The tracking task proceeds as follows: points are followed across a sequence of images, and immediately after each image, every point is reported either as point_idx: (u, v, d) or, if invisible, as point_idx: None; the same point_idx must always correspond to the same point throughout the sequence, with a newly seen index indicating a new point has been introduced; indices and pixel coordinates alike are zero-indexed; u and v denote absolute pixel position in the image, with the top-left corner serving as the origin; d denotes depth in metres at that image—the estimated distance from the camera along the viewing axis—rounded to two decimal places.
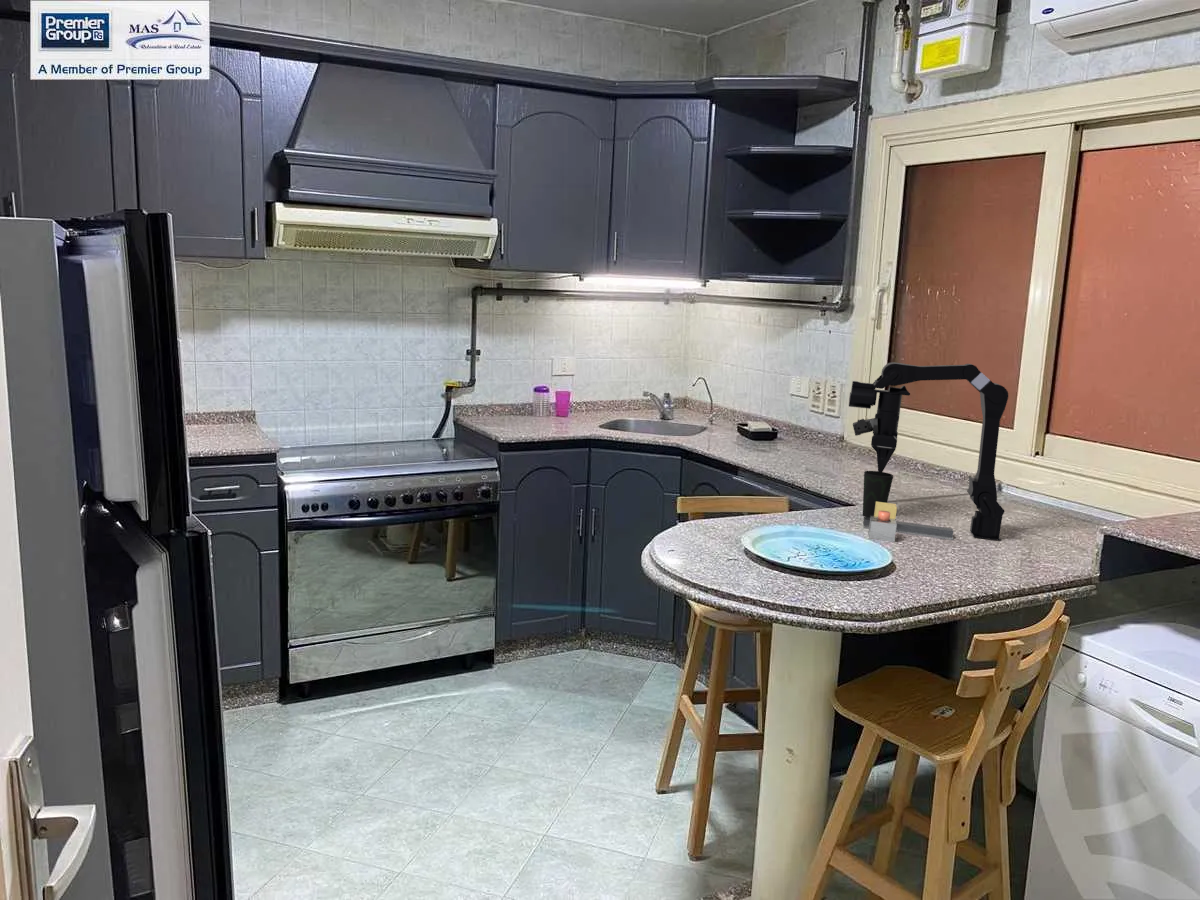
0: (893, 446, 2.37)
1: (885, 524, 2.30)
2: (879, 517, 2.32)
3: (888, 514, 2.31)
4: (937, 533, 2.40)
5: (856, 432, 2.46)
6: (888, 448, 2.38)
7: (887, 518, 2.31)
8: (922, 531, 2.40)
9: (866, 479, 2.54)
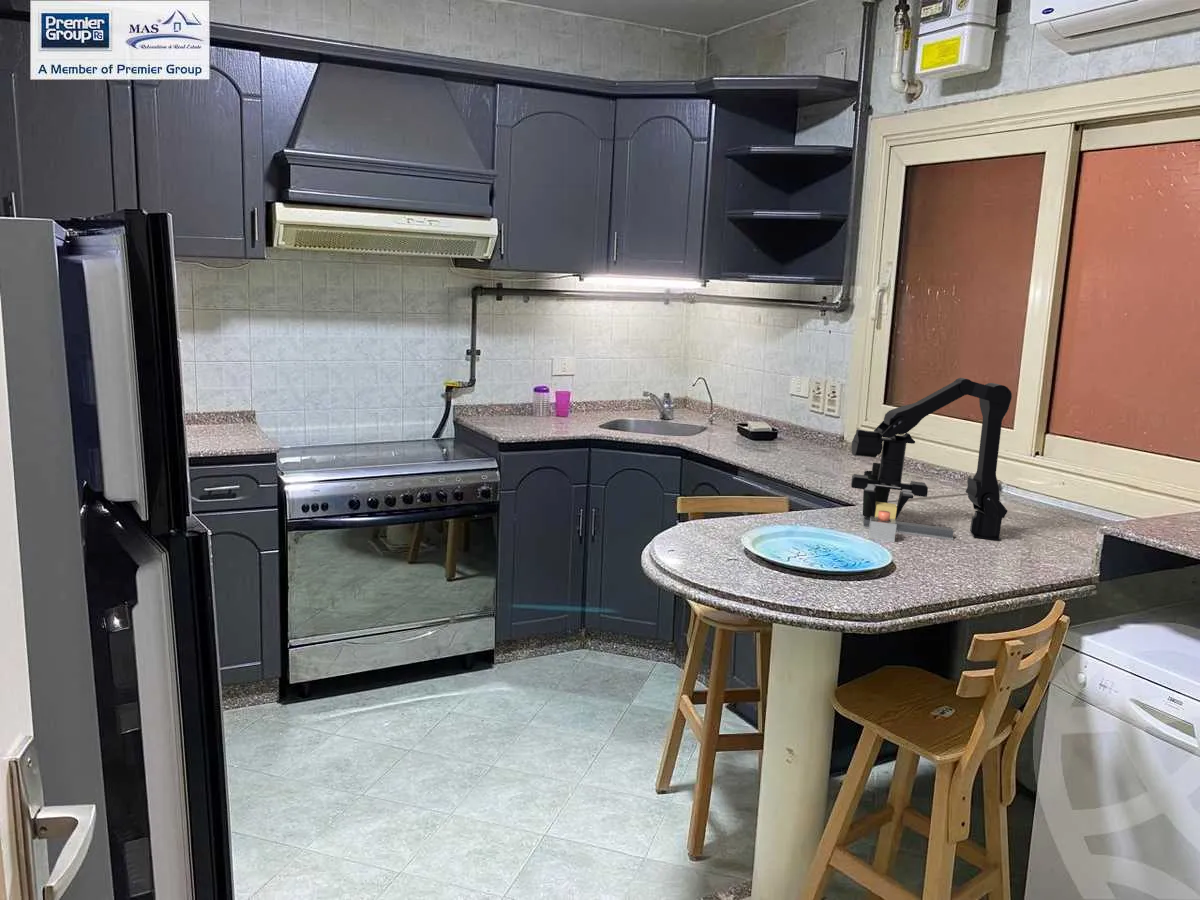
0: (851, 486, 2.42)
1: (885, 524, 2.30)
2: (879, 517, 2.32)
3: (888, 514, 2.31)
4: (937, 533, 2.40)
5: None
6: (863, 489, 2.43)
7: (887, 518, 2.31)
8: (922, 531, 2.40)
9: None
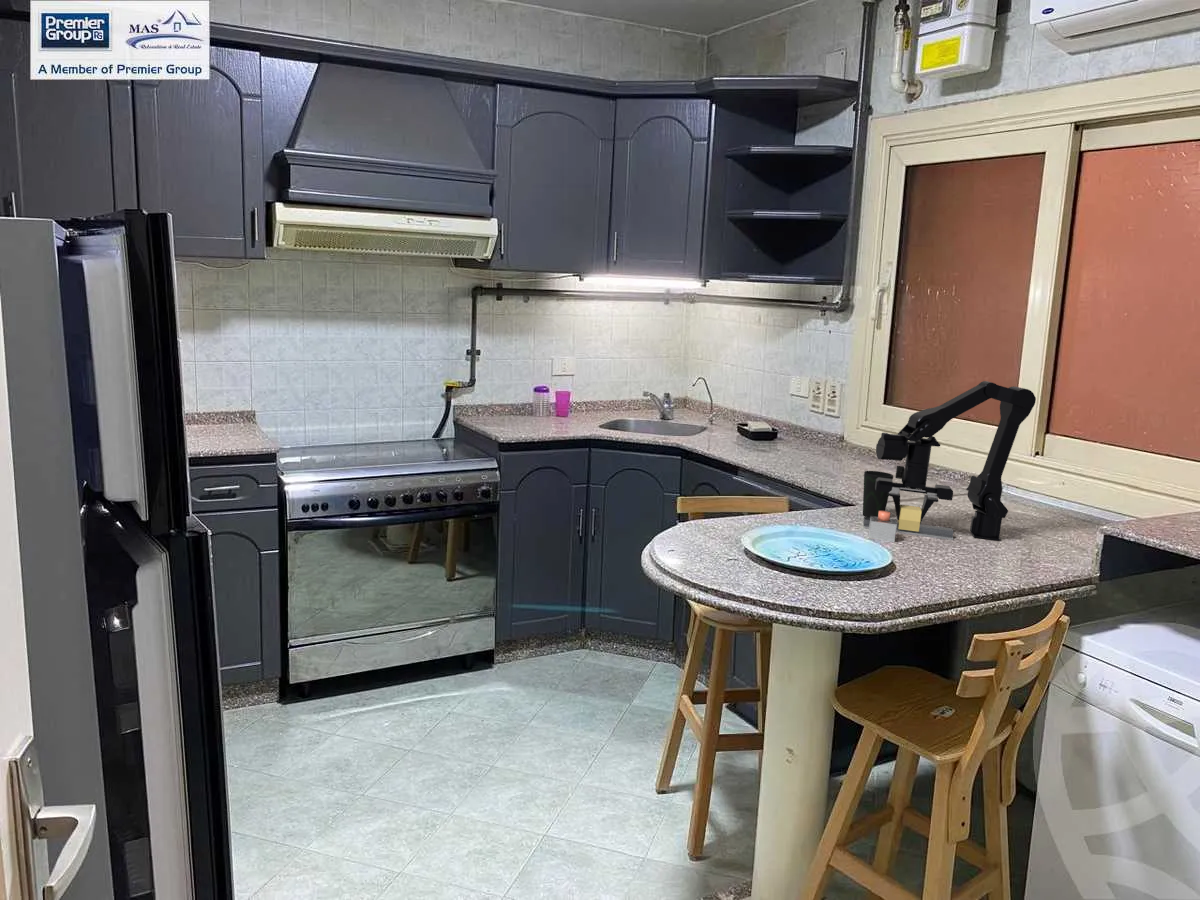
0: (876, 489, 2.41)
1: (885, 524, 2.30)
2: (879, 517, 2.32)
3: (888, 514, 2.31)
4: (937, 533, 2.40)
5: None
6: (888, 493, 2.41)
7: (887, 518, 2.31)
8: (922, 531, 2.40)
9: (866, 479, 2.54)
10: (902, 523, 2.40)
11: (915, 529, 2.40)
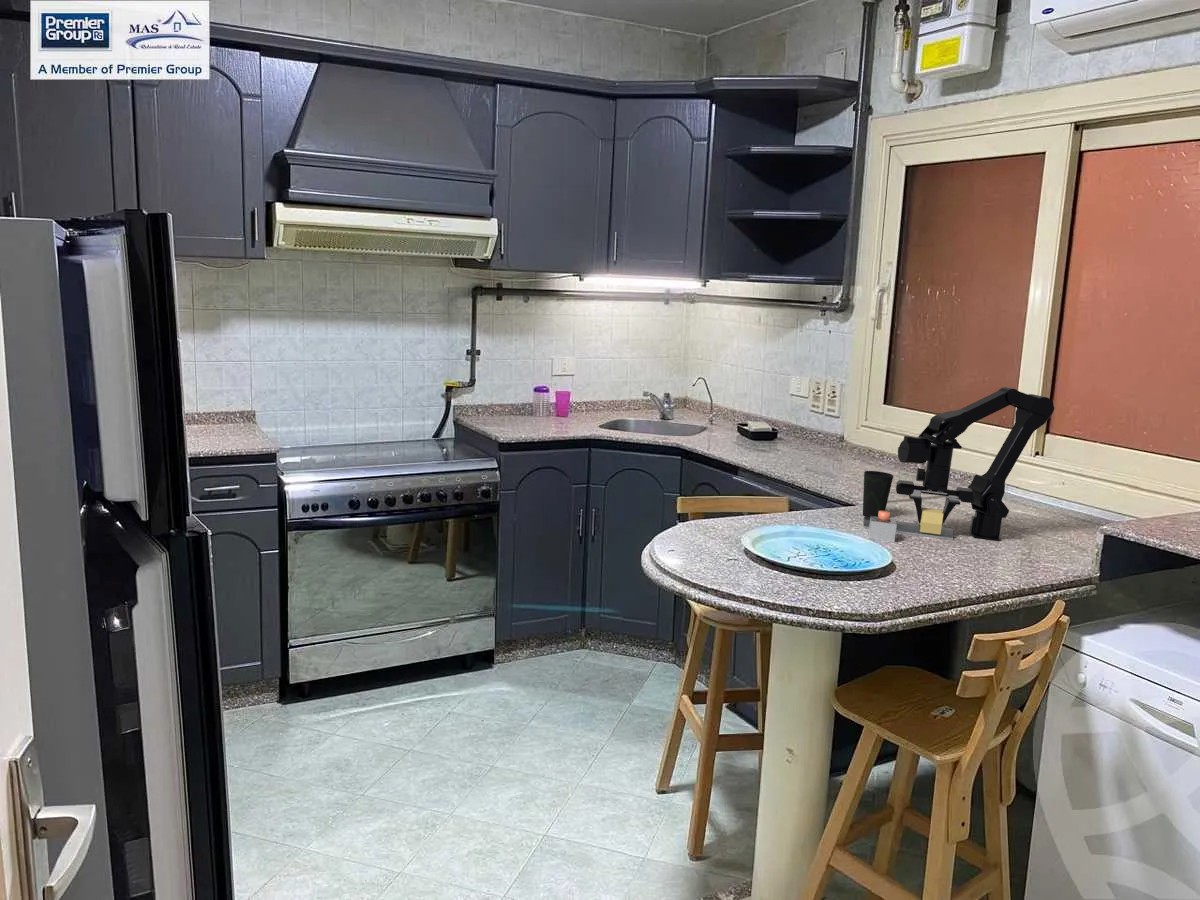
0: (897, 492, 2.40)
1: (885, 524, 2.30)
2: (879, 517, 2.32)
3: (888, 514, 2.31)
4: None
5: None
6: (909, 496, 2.40)
7: (887, 518, 2.31)
8: None
9: (866, 479, 2.54)
10: (924, 526, 2.39)
11: (937, 532, 2.38)
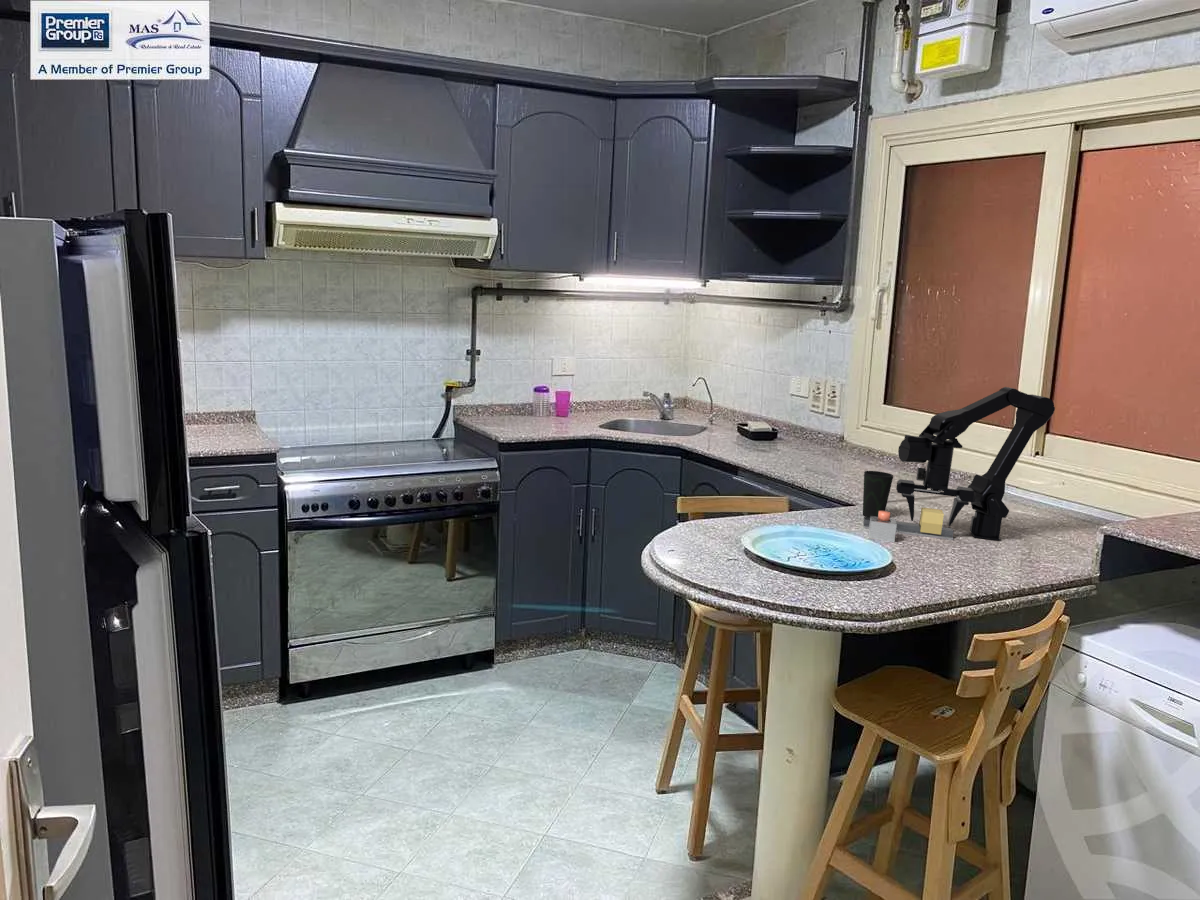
0: (897, 491, 2.39)
1: (885, 524, 2.30)
2: (879, 517, 2.32)
3: (888, 514, 2.31)
4: None
5: None
6: (902, 494, 2.40)
7: (887, 518, 2.31)
8: None
9: (866, 479, 2.54)
10: (924, 526, 2.39)
11: (937, 532, 2.38)
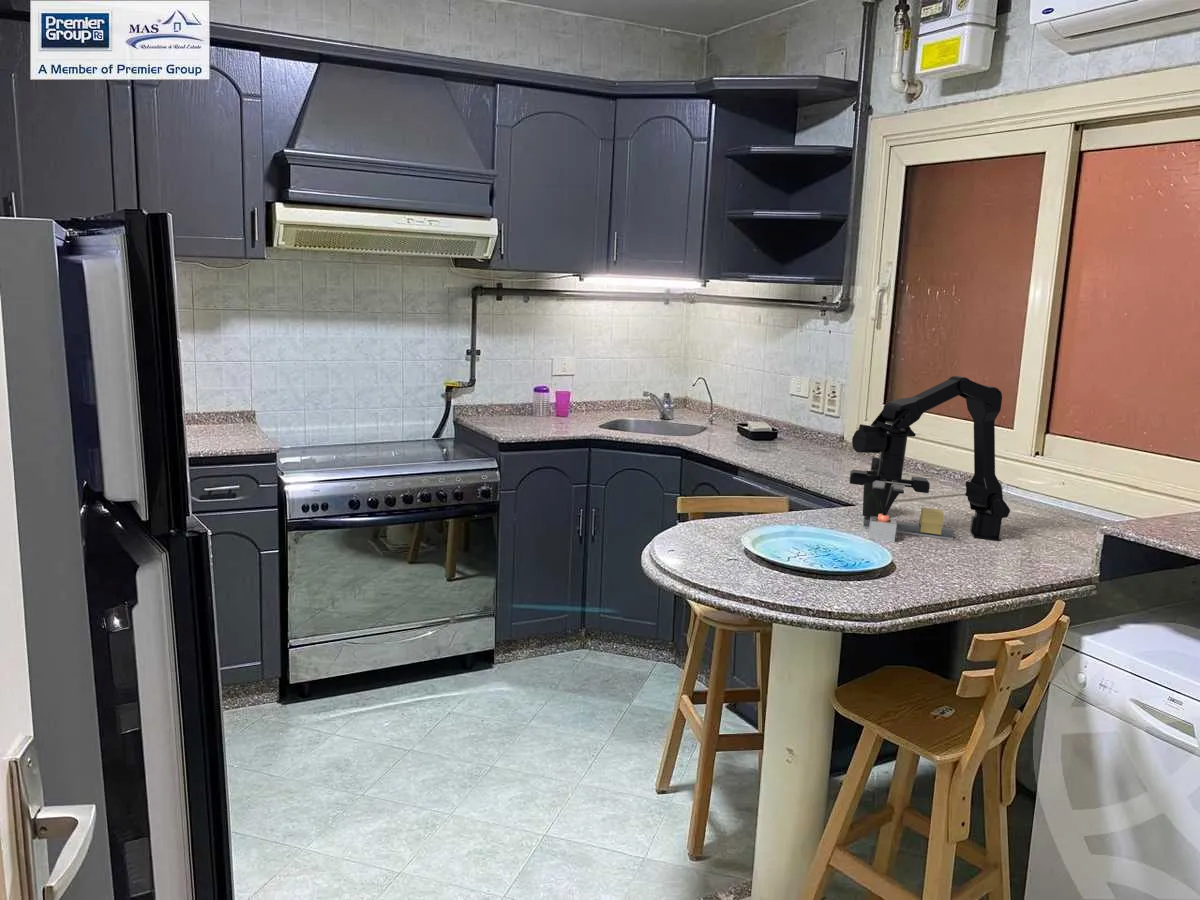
0: (850, 481, 2.31)
1: (885, 524, 2.30)
2: (879, 520, 2.32)
3: (888, 517, 2.32)
4: None
5: None
6: (873, 487, 2.31)
7: (886, 521, 2.32)
8: None
9: None
10: (924, 526, 2.39)
11: (937, 532, 2.38)
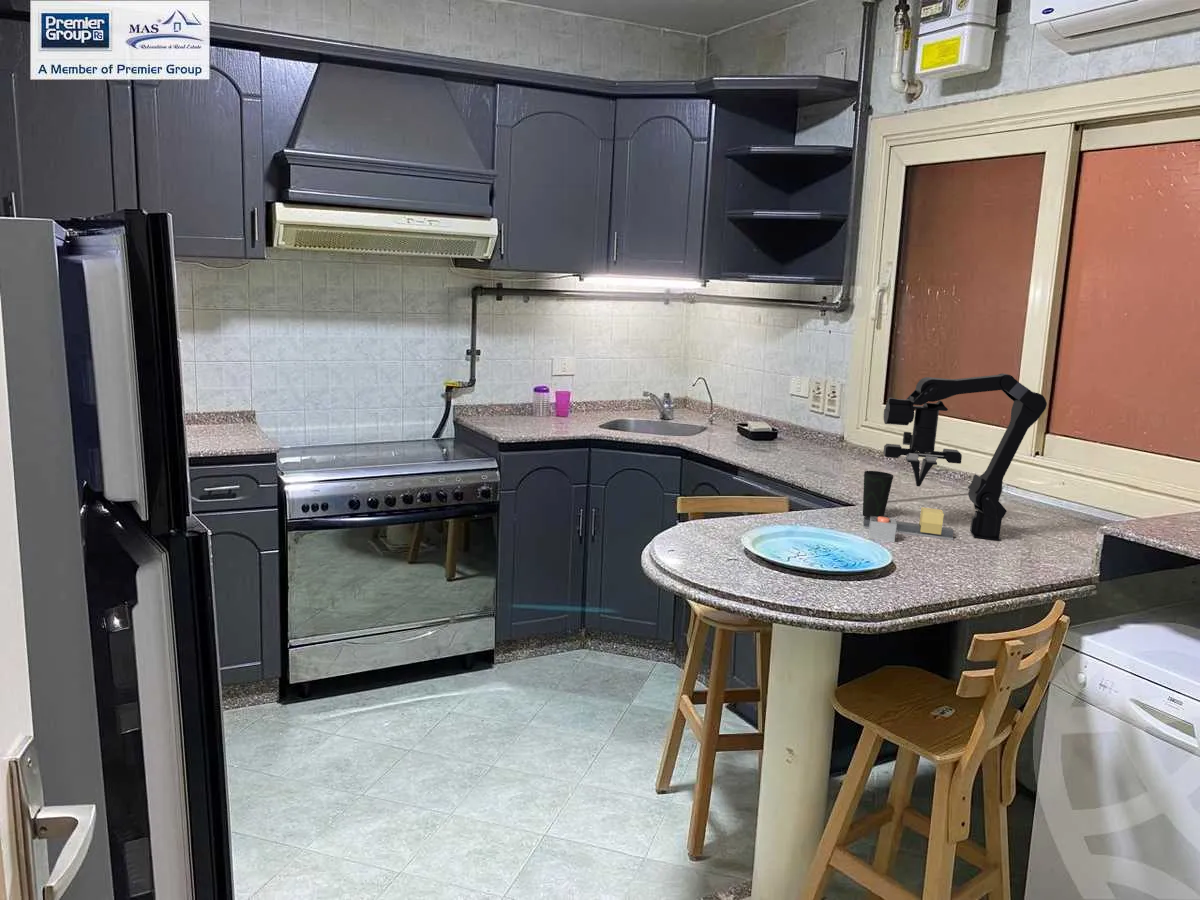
0: (885, 455, 2.42)
1: (885, 524, 2.30)
2: None
3: (887, 520, 2.32)
4: None
5: None
6: (907, 459, 2.42)
7: None
8: None
9: (866, 479, 2.54)
10: (924, 526, 2.39)
11: (937, 532, 2.38)
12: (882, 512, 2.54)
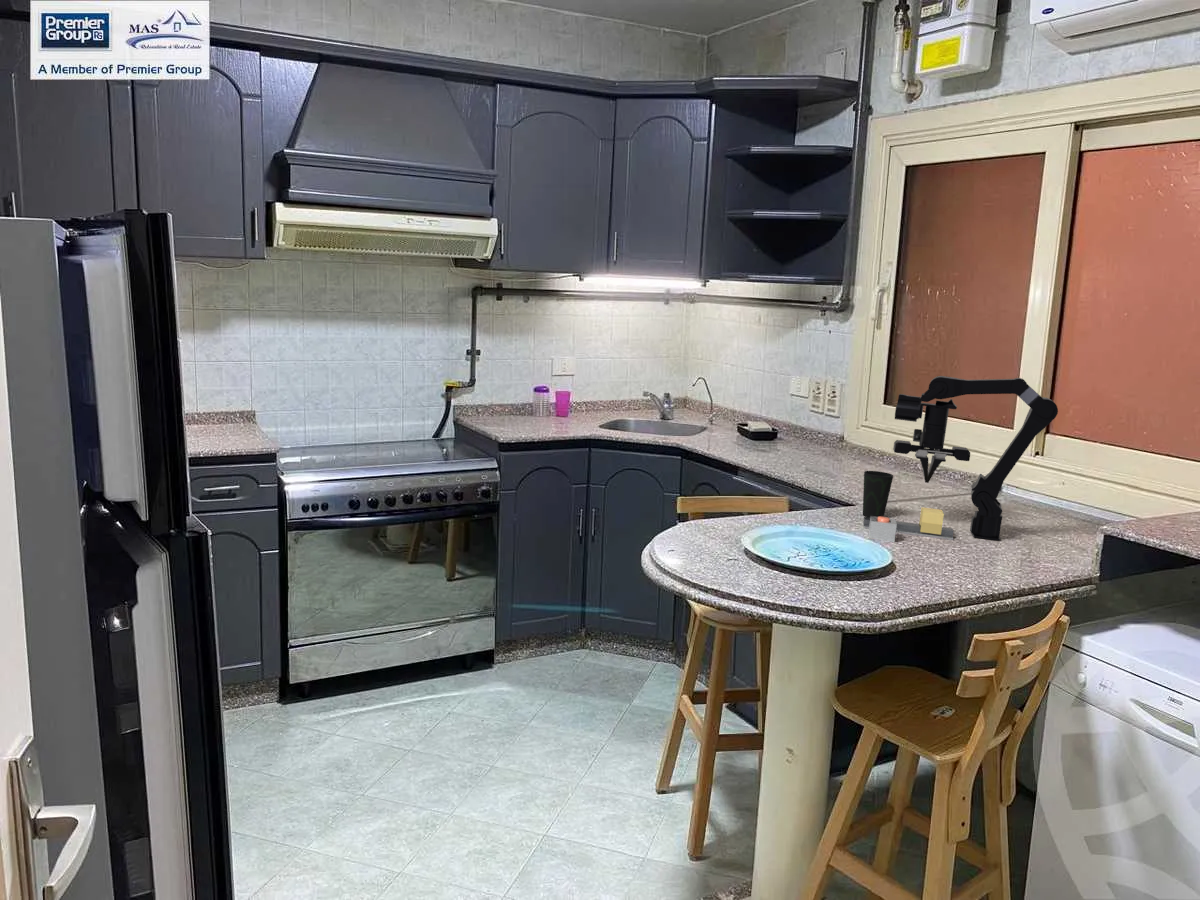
0: (894, 451, 2.46)
1: (885, 524, 2.30)
2: None
3: (887, 520, 2.32)
4: None
5: None
6: (916, 456, 2.46)
7: None
8: None
9: (866, 479, 2.54)
10: (924, 526, 2.39)
11: (937, 532, 2.38)
12: (882, 512, 2.54)
